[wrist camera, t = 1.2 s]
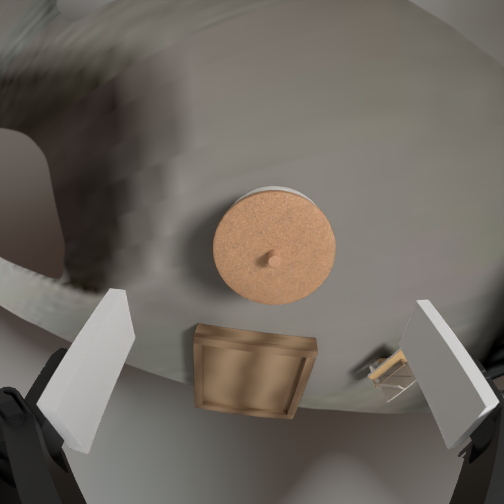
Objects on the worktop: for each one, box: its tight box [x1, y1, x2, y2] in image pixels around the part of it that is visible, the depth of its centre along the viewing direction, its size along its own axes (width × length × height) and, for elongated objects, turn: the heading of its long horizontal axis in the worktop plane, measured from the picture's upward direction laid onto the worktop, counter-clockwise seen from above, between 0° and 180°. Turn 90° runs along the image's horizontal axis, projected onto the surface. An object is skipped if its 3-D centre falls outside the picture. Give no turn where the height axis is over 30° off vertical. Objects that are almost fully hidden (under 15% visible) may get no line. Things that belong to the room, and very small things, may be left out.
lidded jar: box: [213, 186, 336, 305], centre depth 28 cm, size 11×11×9 cm
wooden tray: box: [193, 323, 318, 419], centre depth 41 cm, size 16×16×3 cm
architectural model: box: [367, 348, 417, 403], centre depth 36 cm, size 3×7×7 cm, turn 145°
